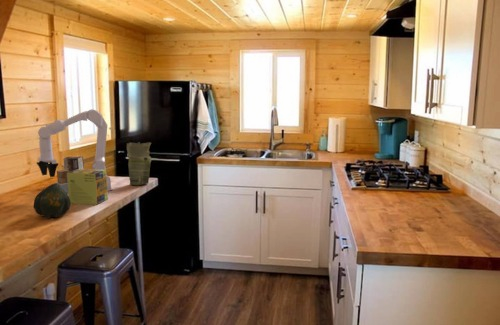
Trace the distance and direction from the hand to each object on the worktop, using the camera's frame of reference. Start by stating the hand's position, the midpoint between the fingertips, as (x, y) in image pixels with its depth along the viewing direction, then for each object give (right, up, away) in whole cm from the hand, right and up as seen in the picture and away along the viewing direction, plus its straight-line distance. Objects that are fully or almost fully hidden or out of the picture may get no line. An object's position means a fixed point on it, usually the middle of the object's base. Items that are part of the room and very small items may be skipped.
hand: (48, 175), depth 214 cm
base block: (+5, -9, +8) cm, 13 cm away
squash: (+18, -17, -32) cm, 41 cm away
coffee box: (+3, -6, +26) cm, 27 cm away
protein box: (+25, -13, -9) cm, 29 cm away
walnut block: (+5, -4, +7) cm, 9 cm away
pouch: (+41, -6, +28) cm, 49 cm away
